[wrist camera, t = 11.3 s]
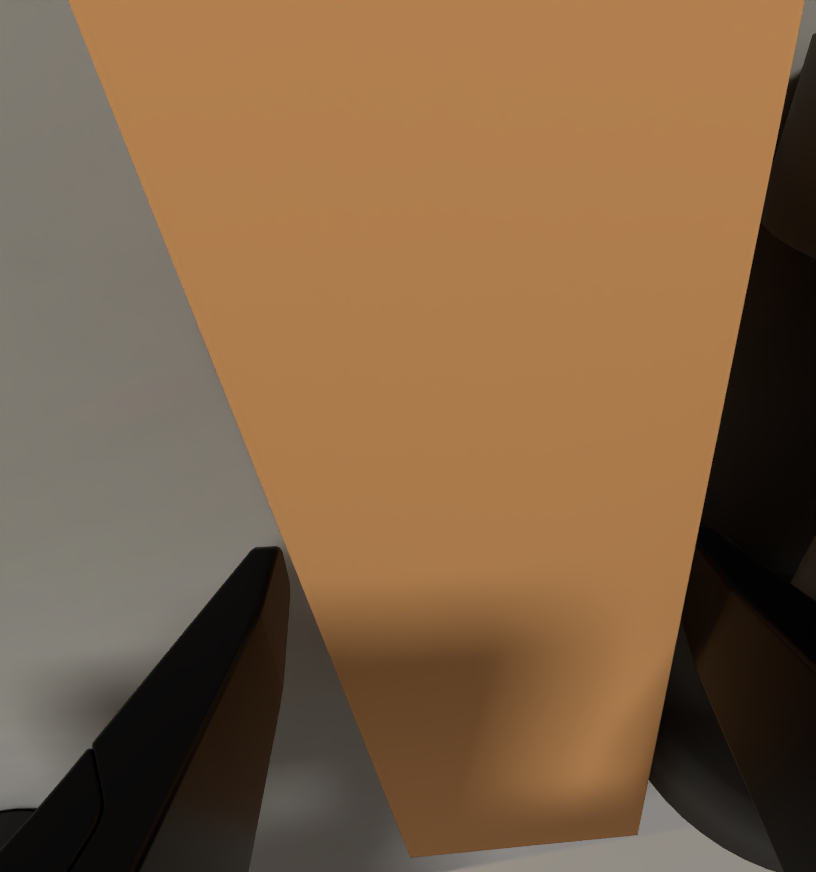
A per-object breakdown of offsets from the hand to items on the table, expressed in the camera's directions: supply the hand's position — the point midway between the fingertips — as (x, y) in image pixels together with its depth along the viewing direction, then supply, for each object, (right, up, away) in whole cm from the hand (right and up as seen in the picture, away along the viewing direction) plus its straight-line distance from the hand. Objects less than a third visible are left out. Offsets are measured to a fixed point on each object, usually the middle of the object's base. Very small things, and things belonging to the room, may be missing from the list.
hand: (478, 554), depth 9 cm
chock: (0, +2, +3) cm, 4 cm away
